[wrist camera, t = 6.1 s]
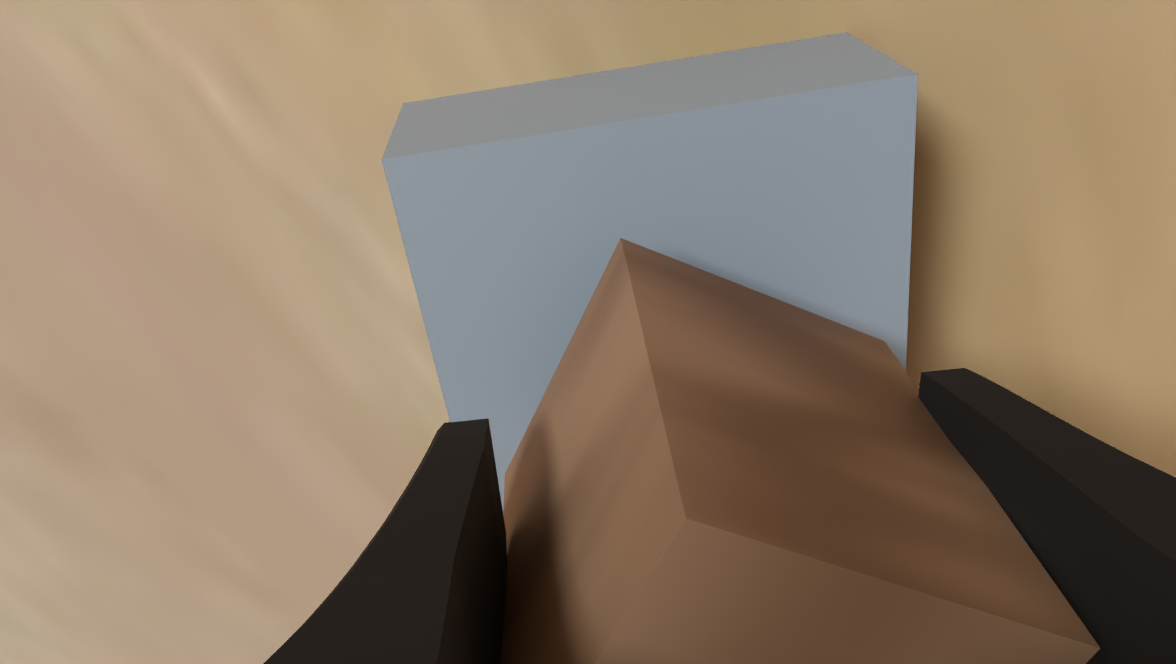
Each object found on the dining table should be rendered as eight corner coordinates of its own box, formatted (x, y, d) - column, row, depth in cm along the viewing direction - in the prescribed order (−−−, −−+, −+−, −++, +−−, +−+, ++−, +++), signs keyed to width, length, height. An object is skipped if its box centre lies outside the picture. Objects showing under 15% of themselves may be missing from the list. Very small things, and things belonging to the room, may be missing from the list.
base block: (841, 28, 16) (917, 74, 13) (841, 394, 20) (900, 494, 17) (405, 98, 16) (381, 160, 13) (489, 451, 20) (486, 560, 17)
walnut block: (884, 341, 14) (1100, 648, 9) (744, 548, 16) (853, 903, 11) (621, 238, 13) (685, 517, 8) (504, 473, 15) (492, 829, 9)
